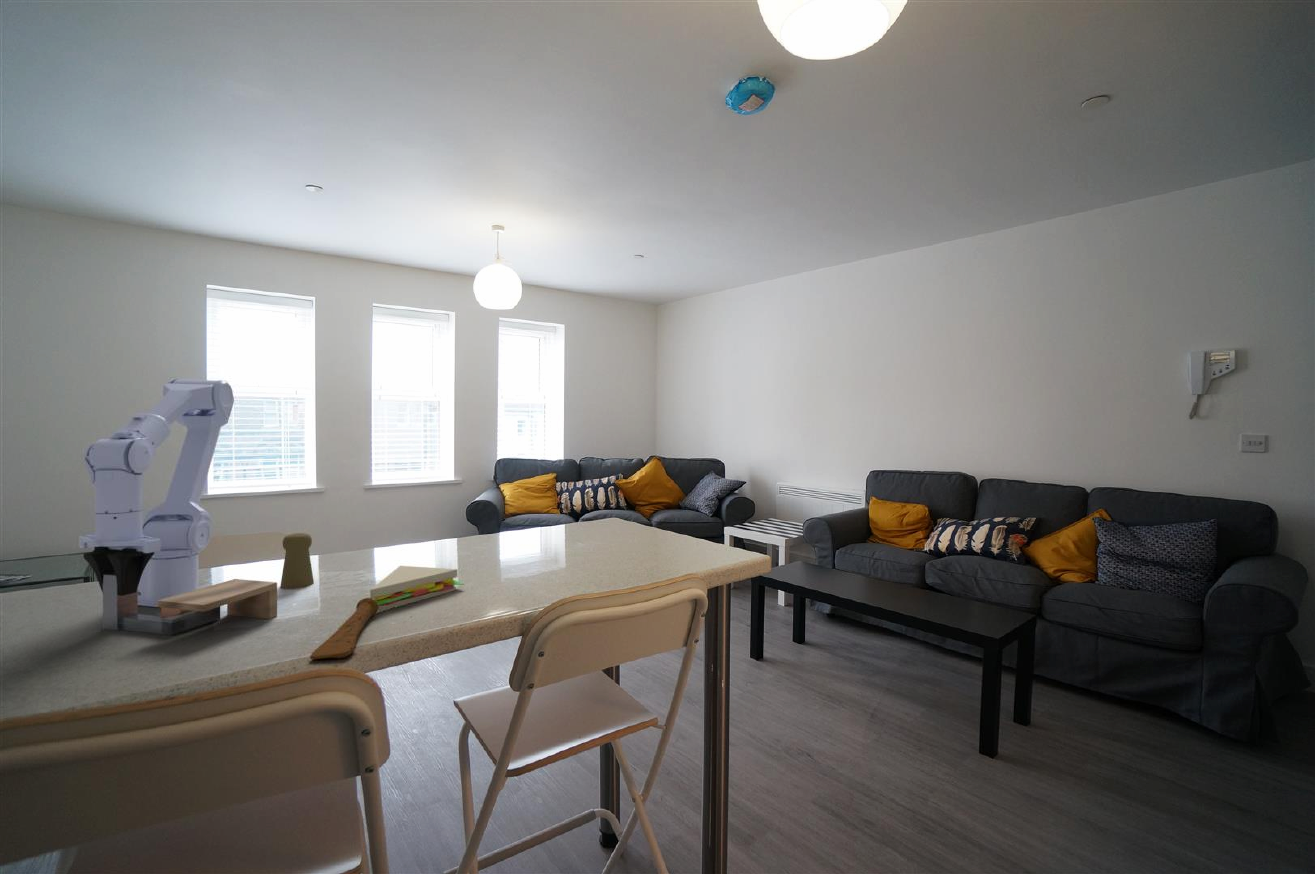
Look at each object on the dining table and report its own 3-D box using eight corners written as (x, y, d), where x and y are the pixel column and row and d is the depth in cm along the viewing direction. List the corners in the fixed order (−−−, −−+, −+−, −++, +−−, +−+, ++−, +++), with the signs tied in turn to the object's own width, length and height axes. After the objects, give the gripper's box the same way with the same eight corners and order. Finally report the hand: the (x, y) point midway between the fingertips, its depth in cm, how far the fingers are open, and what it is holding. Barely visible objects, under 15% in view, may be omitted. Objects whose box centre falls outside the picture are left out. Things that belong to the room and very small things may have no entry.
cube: (161, 626, 94) (161, 602, 94) (185, 618, 98) (185, 595, 98) (180, 628, 93) (180, 604, 93) (204, 620, 97) (204, 597, 97)
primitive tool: (307, 656, 81) (311, 678, 81) (348, 652, 82) (351, 674, 82) (356, 597, 99) (358, 615, 100) (389, 594, 100) (391, 612, 101)
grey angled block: (103, 629, 92) (102, 574, 92) (158, 612, 100) (158, 562, 100) (168, 636, 89) (168, 580, 89) (220, 618, 98) (220, 567, 97)
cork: (290, 582, 121) (290, 531, 120) (319, 581, 121) (319, 531, 121) (273, 590, 115) (273, 536, 114) (304, 589, 115) (304, 536, 115)
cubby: (157, 638, 88) (157, 600, 88) (235, 612, 101) (235, 578, 101) (203, 643, 87) (203, 605, 86) (277, 616, 99) (277, 582, 99)
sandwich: (328, 609, 104) (328, 582, 104) (413, 583, 122) (413, 560, 122) (386, 622, 98) (387, 594, 98) (467, 593, 116) (467, 569, 116)
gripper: (55, 512, 90) (56, 596, 91) (126, 517, 87) (126, 603, 88) (106, 507, 97) (107, 584, 97) (173, 510, 94) (173, 591, 95)
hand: (119, 593), depth 93 cm, fingers closed on grey angled block, 3 cm apart
